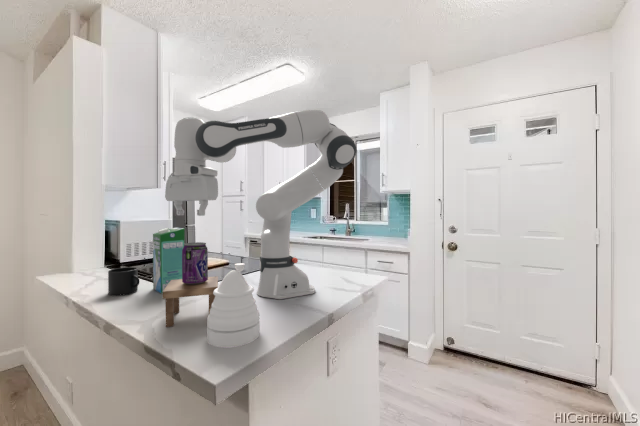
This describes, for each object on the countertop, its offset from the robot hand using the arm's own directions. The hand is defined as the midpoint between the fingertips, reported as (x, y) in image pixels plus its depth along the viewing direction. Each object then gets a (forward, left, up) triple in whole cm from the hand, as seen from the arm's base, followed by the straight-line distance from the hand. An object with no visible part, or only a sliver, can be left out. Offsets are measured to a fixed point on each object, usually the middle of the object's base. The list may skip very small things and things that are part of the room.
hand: (190, 215), depth 88 cm
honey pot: (-12, +21, -31) cm, 39 cm away
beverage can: (-2, +3, -21) cm, 21 cm away
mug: (+26, -33, -31) cm, 52 cm away
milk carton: (+11, -33, -31) cm, 46 cm away
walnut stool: (-1, +3, -30) cm, 31 cm away
